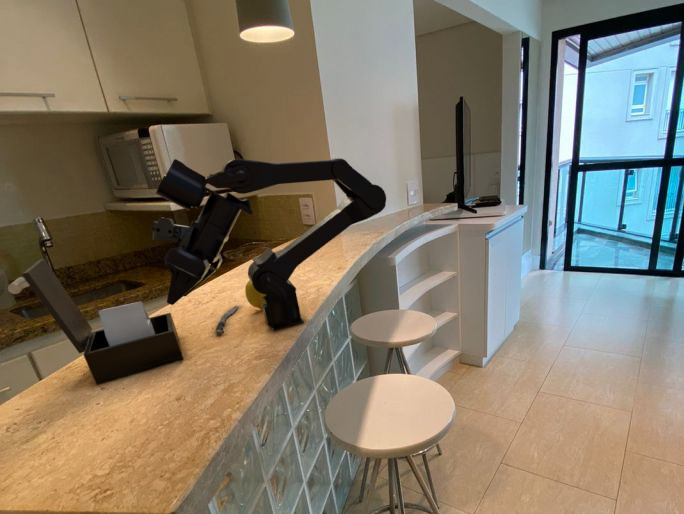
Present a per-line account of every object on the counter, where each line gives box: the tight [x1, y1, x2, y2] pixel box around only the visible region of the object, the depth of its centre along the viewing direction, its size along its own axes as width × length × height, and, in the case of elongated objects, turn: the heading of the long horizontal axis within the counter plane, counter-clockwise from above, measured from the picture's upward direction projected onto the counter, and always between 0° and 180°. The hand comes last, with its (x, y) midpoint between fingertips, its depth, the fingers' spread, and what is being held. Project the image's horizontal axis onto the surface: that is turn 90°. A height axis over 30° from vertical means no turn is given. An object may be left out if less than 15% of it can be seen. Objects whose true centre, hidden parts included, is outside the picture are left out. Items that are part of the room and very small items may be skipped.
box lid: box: [7, 258, 93, 354], centre depth 67 cm, size 14×12×4 cm
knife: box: [215, 305, 239, 335], centre depth 90 cm, size 17×1×3 cm
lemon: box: [244, 279, 266, 311], centre depth 93 cm, size 6×6×8 cm
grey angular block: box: [97, 300, 155, 346], centre depth 74 cm, size 4×7×10 cm, turn 115°
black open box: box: [83, 312, 184, 386], centre depth 75 cm, size 14×12×6 cm
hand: (176, 299), depth 75 cm, fingers open, 9 cm apart
